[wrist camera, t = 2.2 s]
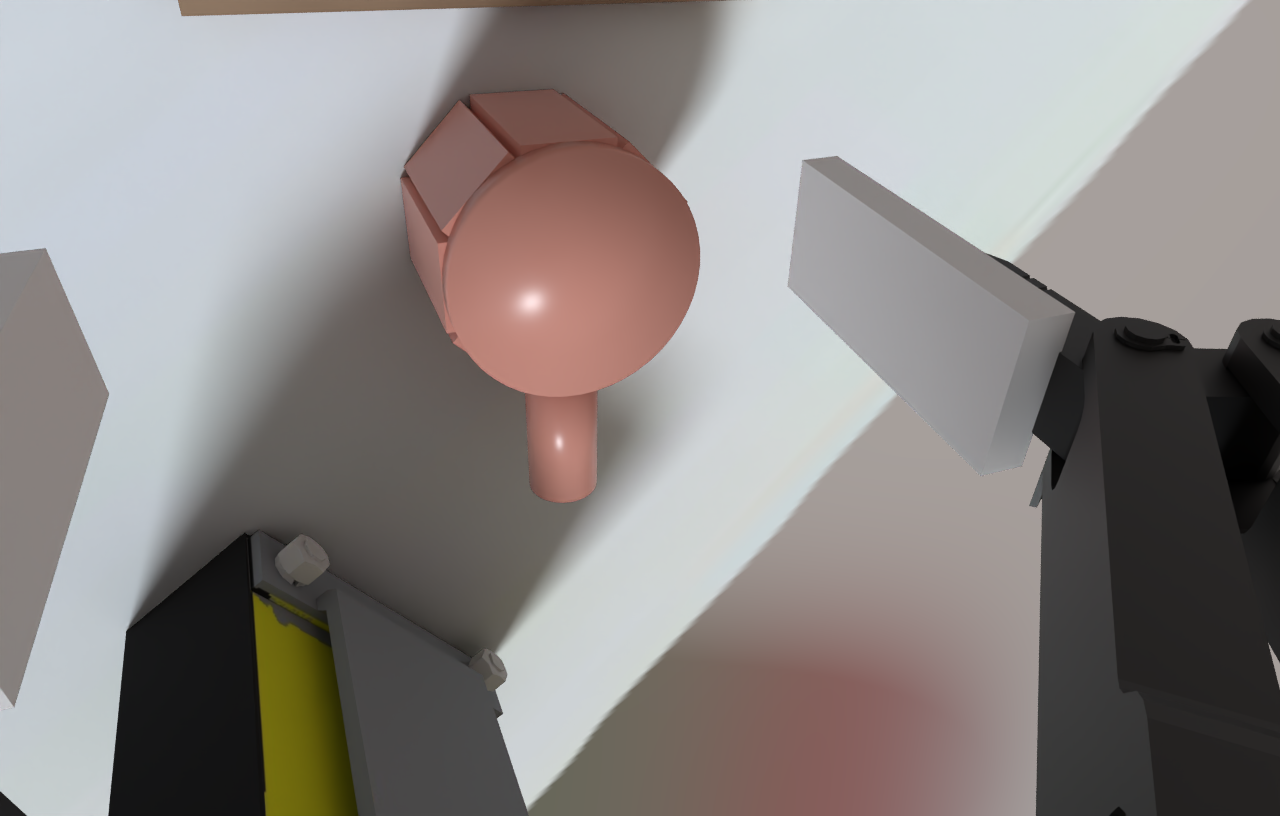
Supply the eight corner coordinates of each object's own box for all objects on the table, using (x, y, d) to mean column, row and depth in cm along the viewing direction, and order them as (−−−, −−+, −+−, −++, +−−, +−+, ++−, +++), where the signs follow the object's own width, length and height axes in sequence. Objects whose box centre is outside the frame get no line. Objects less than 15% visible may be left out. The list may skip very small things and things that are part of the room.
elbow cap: (390, 99, 32) (434, 163, 26) (622, 84, 35) (709, 138, 29) (432, 435, 40) (472, 542, 34) (615, 398, 44) (682, 490, 38)
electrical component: (509, 649, 51) (640, 1002, 35) (379, 755, 51) (454, 1149, 36) (280, 502, 39) (328, 929, 24) (115, 640, 40) (59, 1146, 24)
